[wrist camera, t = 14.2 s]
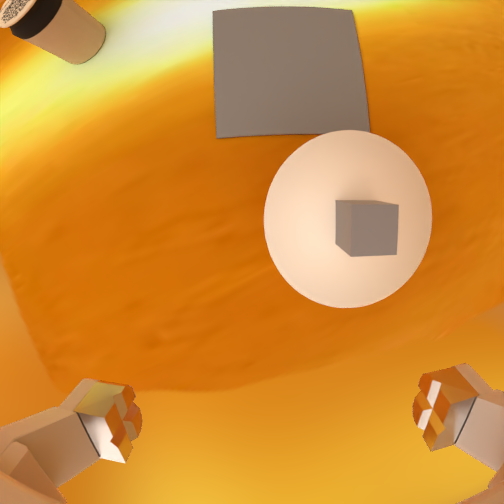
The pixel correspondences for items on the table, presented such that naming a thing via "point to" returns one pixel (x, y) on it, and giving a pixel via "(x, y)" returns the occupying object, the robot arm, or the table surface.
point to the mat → (287, 72)
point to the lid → (347, 219)
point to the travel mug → (55, 27)
